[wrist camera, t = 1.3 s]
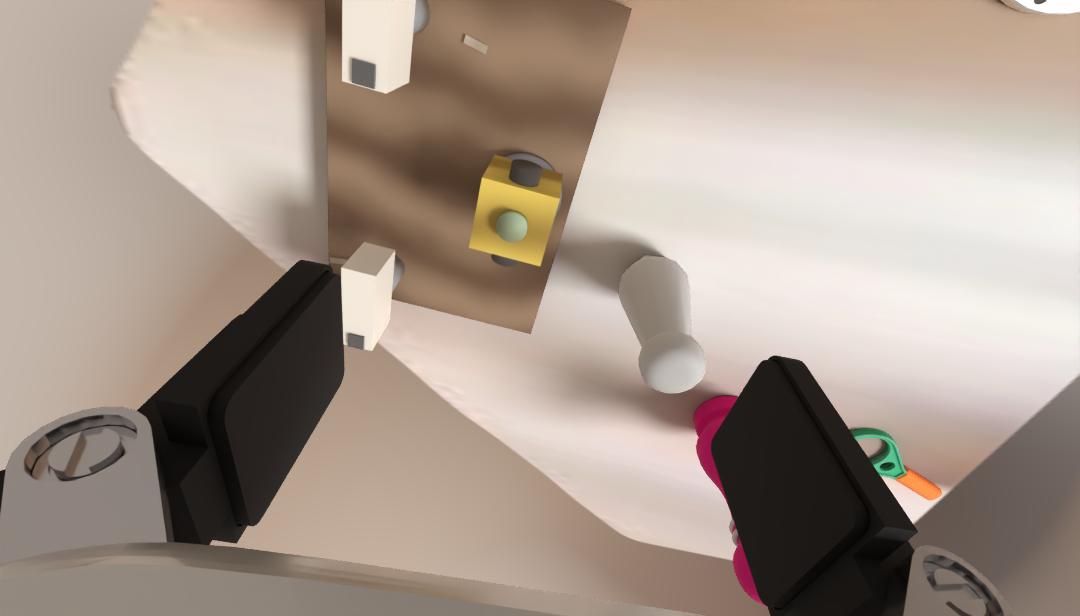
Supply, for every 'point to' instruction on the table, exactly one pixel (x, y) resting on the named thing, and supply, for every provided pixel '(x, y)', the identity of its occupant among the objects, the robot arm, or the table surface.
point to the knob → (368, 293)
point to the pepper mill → (706, 427)
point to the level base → (471, 150)
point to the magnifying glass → (897, 465)
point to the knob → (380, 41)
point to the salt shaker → (662, 323)
